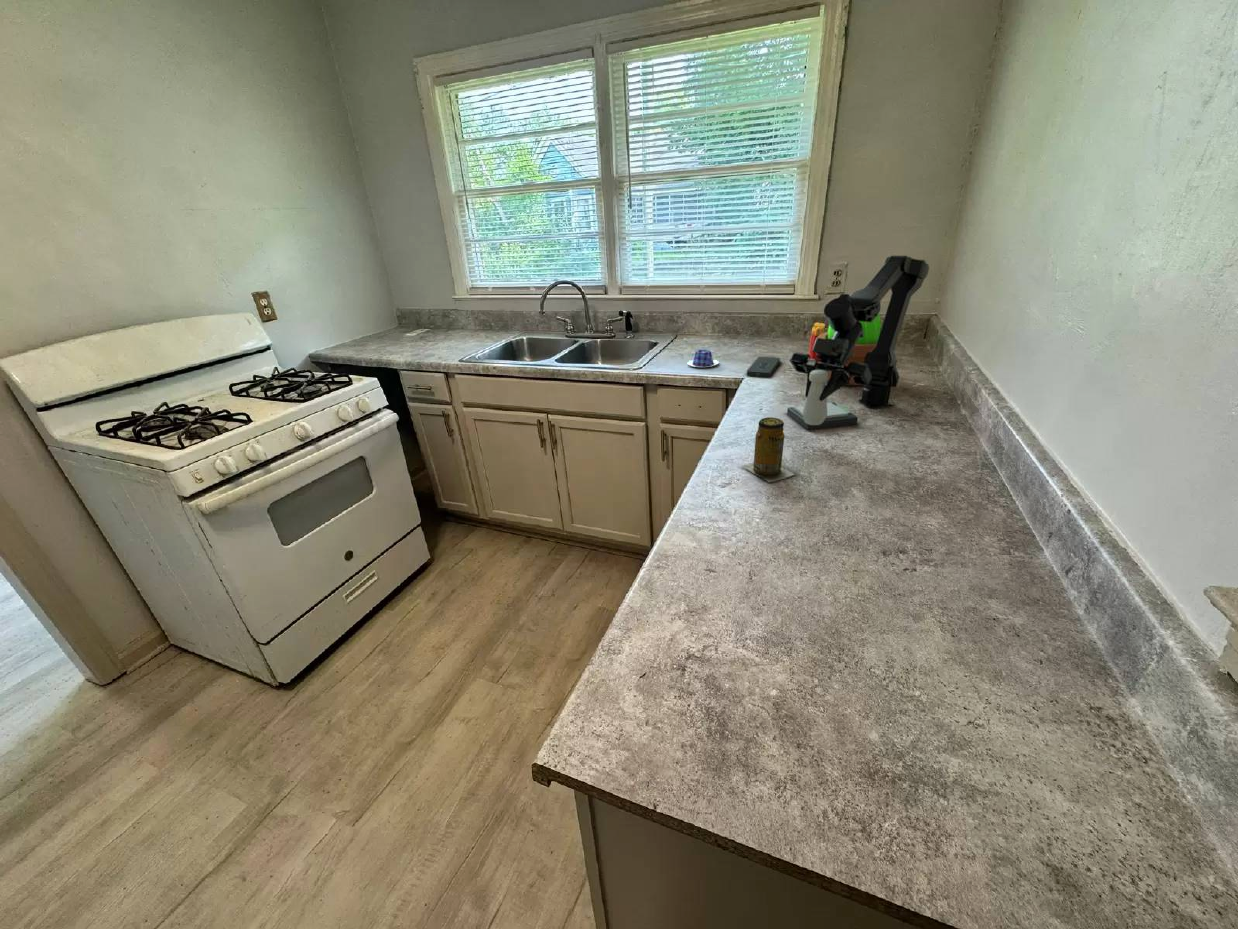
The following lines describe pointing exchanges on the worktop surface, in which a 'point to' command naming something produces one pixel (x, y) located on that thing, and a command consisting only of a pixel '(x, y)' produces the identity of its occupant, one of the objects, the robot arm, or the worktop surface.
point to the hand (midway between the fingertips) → (813, 398)
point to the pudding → (703, 359)
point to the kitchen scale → (834, 417)
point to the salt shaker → (816, 399)
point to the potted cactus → (860, 342)
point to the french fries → (814, 334)
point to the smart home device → (763, 366)
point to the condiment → (769, 451)
